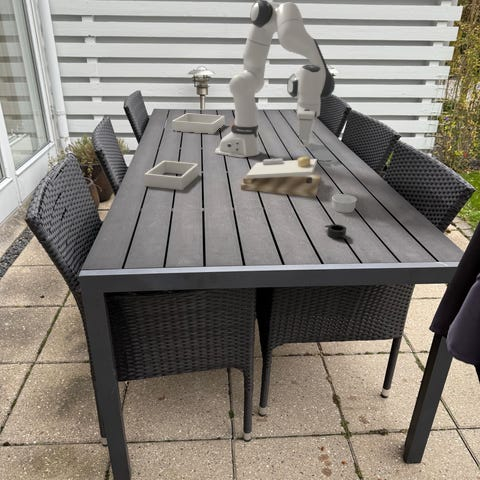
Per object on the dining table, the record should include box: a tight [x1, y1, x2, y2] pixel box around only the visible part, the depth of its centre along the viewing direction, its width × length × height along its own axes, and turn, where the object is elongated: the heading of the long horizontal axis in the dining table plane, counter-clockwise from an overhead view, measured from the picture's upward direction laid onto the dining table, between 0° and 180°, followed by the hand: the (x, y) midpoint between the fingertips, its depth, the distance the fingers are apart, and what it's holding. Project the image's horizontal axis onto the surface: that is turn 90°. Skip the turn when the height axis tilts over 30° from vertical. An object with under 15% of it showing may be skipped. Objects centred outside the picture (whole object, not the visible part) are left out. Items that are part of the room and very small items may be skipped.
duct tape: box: [323, 223, 351, 241], centre depth 149 cm, size 8×10×3 cm
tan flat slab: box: [240, 166, 322, 198], centre depth 192 cm, size 30×22×4 cm
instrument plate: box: [246, 156, 318, 179], centre depth 189 cm, size 26×18×4 cm
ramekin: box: [331, 193, 358, 214], centre depth 169 cm, size 9×9×4 cm
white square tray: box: [171, 112, 226, 135], centre depth 282 cm, size 25×25×6 cm
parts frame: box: [143, 160, 200, 191], centre depth 193 cm, size 16×20×5 cm
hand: (305, 146), depth 184 cm, fingers closed
